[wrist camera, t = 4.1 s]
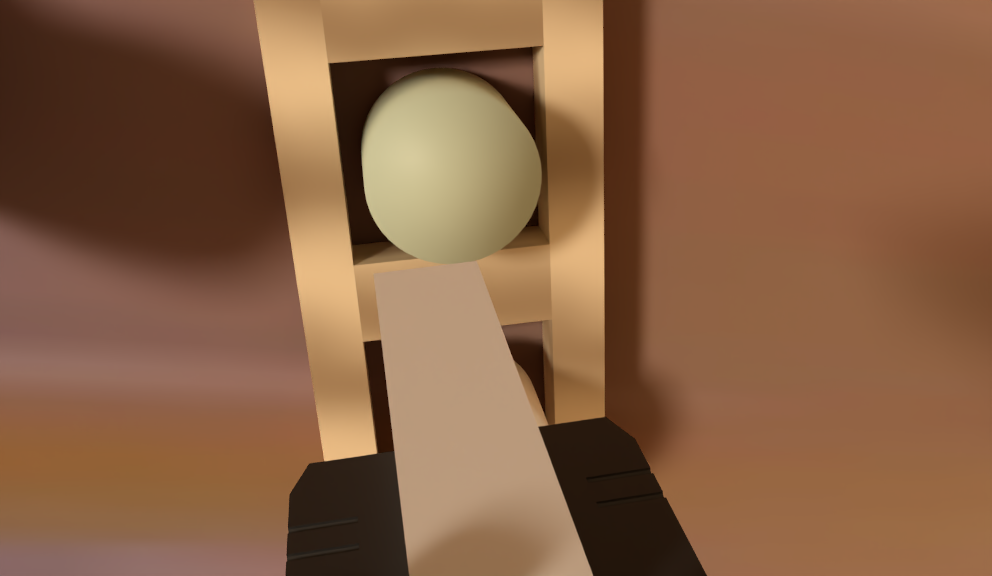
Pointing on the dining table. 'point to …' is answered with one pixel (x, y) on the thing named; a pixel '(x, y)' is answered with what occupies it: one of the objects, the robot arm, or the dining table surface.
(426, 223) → the olive rounded lump
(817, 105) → the dining table surface
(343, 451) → the wooden ladder frame
